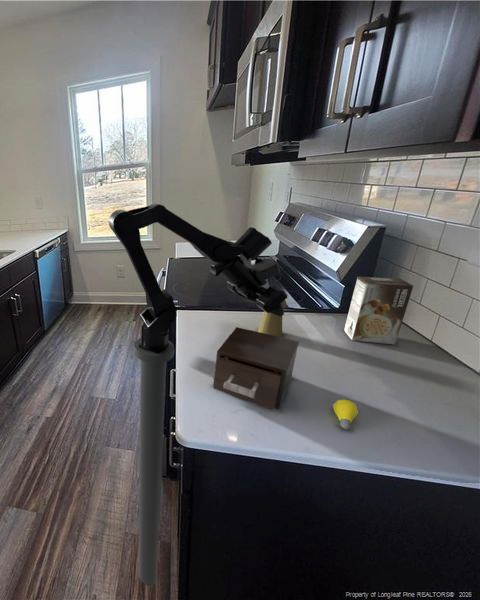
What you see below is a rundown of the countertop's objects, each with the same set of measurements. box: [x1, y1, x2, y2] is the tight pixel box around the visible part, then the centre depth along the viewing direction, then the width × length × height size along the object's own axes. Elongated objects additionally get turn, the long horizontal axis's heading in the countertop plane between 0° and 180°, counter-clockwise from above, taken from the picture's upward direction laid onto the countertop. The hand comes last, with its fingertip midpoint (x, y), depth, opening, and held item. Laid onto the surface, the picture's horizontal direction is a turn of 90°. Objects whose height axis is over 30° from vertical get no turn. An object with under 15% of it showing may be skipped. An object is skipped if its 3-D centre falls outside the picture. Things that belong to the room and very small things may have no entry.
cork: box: [257, 299, 287, 337], centre depth 88 cm, size 6×6×11 cm
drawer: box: [213, 356, 282, 411], centre depth 66 cm, size 17×11×7 cm
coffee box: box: [343, 276, 414, 345], centre depth 82 cm, size 9×6×16 cm
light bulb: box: [332, 398, 359, 430], centre depth 58 cm, size 3×6×4 cm, turn 145°
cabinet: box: [212, 326, 300, 411], centre depth 69 cm, size 14×13×9 cm
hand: (271, 308), depth 88 cm, fingers open, 9 cm apart
